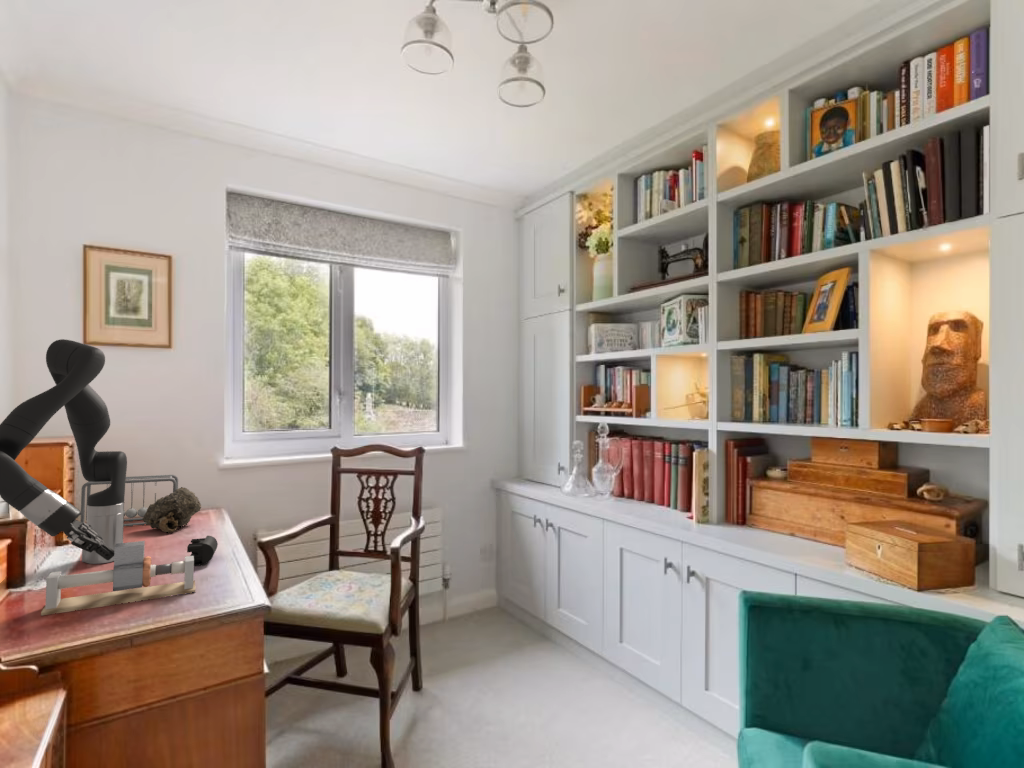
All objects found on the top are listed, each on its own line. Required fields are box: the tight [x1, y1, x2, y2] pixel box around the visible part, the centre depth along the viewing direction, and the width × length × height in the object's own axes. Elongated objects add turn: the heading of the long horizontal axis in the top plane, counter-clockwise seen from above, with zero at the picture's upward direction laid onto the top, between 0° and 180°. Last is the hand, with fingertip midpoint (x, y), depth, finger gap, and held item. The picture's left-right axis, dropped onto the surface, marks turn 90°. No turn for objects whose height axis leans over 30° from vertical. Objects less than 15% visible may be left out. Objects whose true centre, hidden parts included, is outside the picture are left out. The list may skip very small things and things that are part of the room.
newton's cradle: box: [80, 474, 179, 527], centre depth 213 cm, size 30×10×18 cm, turn 118°
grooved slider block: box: [112, 540, 146, 592], centre depth 139 cm, size 6×6×10 cm
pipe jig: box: [44, 555, 195, 610], centre depth 138 cm, size 30×5×8 cm, turn 121°
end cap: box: [186, 535, 219, 567], centre depth 169 cm, size 10×7×7 cm
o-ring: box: [142, 555, 152, 587], centre depth 140 cm, size 2×7×7 cm, turn 31°
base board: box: [40, 579, 196, 616], centre depth 138 cm, size 31×8×1 cm, turn 121°
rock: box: [141, 486, 202, 534], centre depth 206 cm, size 18×14×15 cm
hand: (112, 556), depth 137 cm, fingers closed
